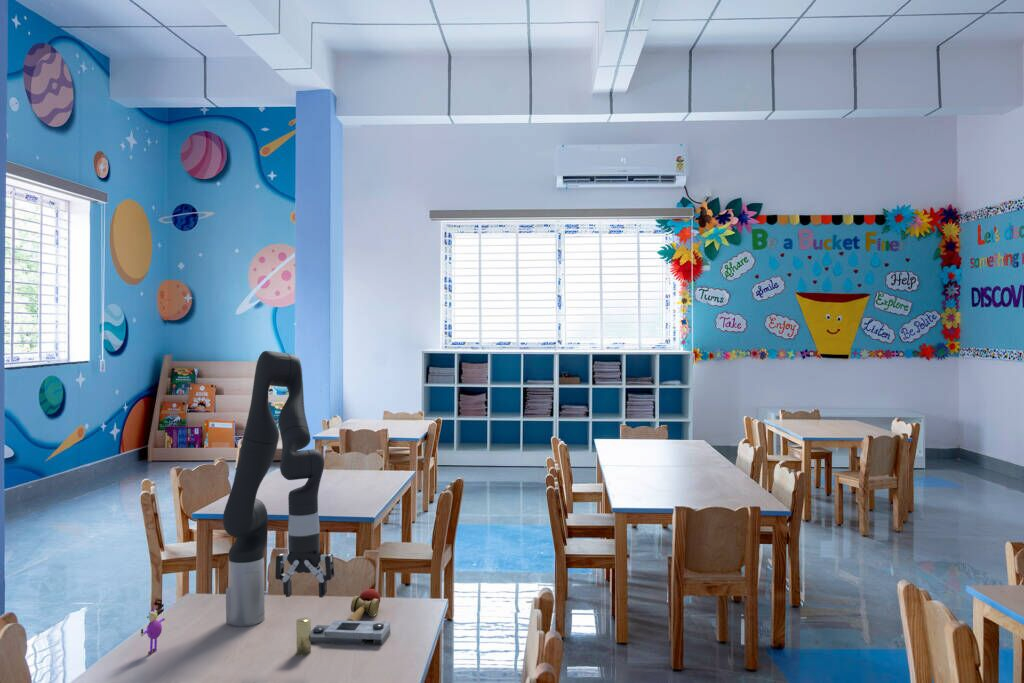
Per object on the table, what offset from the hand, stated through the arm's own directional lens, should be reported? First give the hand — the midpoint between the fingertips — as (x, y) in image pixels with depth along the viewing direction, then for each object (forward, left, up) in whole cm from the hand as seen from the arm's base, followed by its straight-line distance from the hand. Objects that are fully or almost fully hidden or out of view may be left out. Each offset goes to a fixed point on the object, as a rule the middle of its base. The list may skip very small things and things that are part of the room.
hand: (305, 596), depth 190 cm
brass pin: (0, 0, -14) cm, 14 cm away
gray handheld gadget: (+8, +10, -14) cm, 18 cm away
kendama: (+7, +24, -14) cm, 29 cm away
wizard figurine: (-37, -4, -14) cm, 40 cm away
